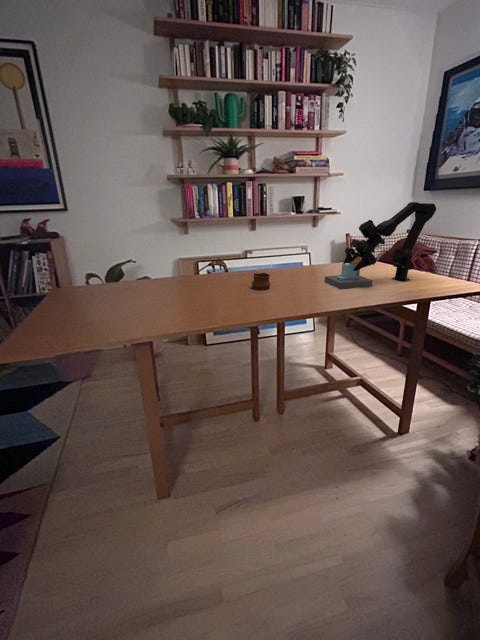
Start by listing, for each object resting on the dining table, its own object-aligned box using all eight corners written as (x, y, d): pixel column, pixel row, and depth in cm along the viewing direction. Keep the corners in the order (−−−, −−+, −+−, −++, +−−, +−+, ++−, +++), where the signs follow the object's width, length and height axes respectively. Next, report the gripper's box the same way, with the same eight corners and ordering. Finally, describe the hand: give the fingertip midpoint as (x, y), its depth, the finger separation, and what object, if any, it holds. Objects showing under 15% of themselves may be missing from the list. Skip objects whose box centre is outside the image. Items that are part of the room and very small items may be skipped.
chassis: (354, 279, 168) (355, 273, 167) (371, 286, 156) (372, 280, 154) (324, 281, 163) (324, 276, 162) (340, 289, 151) (340, 283, 149)
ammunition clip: (359, 276, 174) (362, 254, 169) (356, 277, 173) (359, 255, 169) (346, 272, 183) (349, 251, 179) (343, 272, 182) (346, 251, 178)
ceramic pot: (258, 281, 164) (258, 268, 161) (286, 288, 153) (287, 274, 150) (234, 289, 151) (234, 274, 149) (263, 297, 141) (264, 282, 138)
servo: (354, 282, 163) (357, 261, 159) (359, 284, 159) (362, 263, 155) (335, 283, 160) (338, 262, 156) (340, 285, 156) (342, 264, 152)
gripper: (350, 231, 160) (328, 254, 161) (375, 235, 143) (351, 261, 144) (361, 246, 165) (340, 268, 166) (386, 252, 148) (363, 277, 149)
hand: (348, 268), depth 156 cm, fingers open, 9 cm apart
